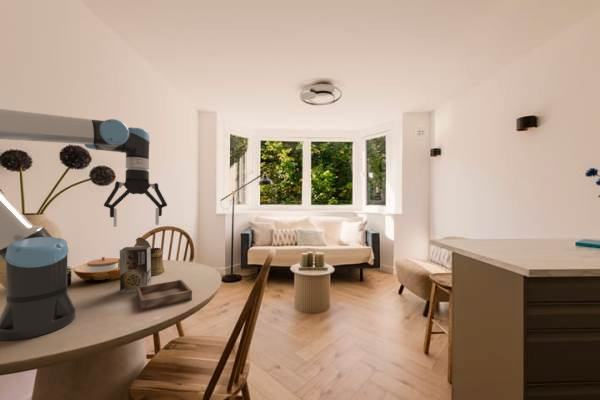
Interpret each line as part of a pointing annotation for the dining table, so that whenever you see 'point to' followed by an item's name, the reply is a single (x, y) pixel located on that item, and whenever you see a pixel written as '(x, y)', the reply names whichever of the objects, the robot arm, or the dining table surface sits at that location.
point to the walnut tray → (163, 294)
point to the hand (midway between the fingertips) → (136, 225)
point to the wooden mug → (153, 257)
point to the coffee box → (135, 268)
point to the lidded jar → (102, 264)
